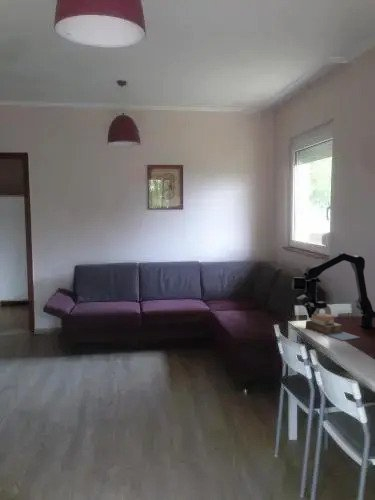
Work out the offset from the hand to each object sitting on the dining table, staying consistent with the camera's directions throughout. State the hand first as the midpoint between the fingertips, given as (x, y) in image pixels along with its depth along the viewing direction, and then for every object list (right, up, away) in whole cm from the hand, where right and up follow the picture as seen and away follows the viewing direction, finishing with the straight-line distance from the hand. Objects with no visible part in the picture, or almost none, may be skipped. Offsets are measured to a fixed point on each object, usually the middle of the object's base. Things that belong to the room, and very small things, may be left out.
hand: (310, 317), depth 248 cm
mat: (+11, -7, -20) cm, 24 cm away
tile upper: (+4, +1, -8) cm, 9 cm away
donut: (+11, -4, +14) cm, 18 cm away
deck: (+5, -5, -9) cm, 11 cm away
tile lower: (+4, -1, -8) cm, 9 cm away
